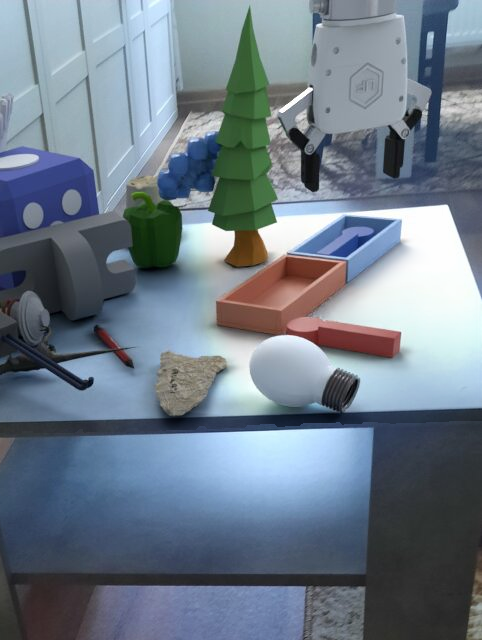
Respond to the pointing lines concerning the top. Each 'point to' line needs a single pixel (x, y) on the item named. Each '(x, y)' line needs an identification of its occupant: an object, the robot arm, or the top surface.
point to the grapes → (190, 169)
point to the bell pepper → (154, 232)
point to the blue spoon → (348, 242)
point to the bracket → (70, 264)
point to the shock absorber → (27, 316)
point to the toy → (39, 189)
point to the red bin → (280, 293)
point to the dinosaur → (28, 365)
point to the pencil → (113, 346)
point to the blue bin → (359, 260)
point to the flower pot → (142, 190)
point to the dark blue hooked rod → (34, 353)
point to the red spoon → (346, 336)
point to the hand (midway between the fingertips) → (351, 182)
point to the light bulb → (300, 374)
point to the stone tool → (185, 380)
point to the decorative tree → (244, 156)
